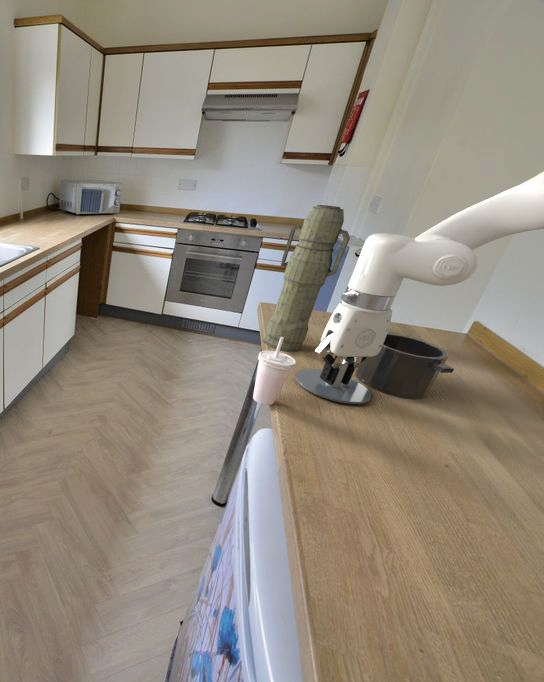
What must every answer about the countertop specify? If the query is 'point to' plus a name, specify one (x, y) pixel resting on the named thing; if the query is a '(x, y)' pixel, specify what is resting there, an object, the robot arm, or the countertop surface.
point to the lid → (333, 386)
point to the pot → (404, 367)
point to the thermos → (306, 275)
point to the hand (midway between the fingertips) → (333, 380)
